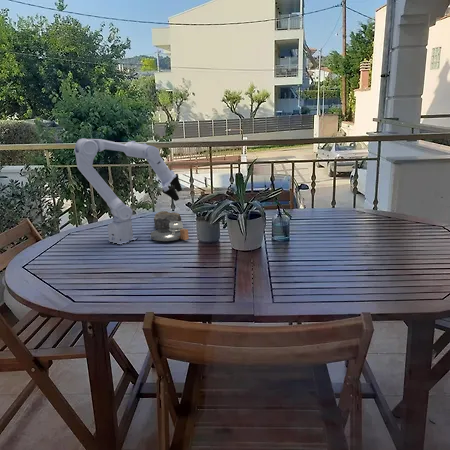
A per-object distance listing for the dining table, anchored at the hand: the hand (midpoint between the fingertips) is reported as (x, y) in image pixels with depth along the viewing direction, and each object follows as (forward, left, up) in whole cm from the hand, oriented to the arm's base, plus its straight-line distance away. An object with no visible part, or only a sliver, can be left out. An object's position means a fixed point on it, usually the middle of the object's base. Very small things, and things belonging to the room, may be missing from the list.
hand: (178, 195), depth 175 cm
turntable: (-12, -6, -14) cm, 20 cm away
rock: (0, +9, -16) cm, 18 cm away
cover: (-8, -5, -13) cm, 16 cm away
